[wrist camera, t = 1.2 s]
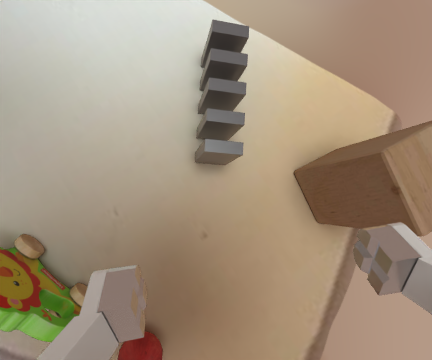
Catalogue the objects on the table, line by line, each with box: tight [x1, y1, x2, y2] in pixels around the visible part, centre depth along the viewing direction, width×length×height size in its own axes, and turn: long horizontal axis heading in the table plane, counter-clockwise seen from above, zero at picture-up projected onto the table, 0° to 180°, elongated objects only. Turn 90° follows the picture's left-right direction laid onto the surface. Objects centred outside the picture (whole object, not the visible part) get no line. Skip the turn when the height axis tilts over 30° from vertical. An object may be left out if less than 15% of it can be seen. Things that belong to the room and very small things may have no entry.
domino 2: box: [200, 48, 248, 91], centre depth 41 cm, size 2×5×10 cm, turn 86°
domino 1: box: [201, 20, 249, 68], centre depth 42 cm, size 2×5×10 cm, turn 87°
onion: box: [118, 332, 163, 360], centre depth 37 cm, size 6×6×8 cm
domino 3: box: [198, 77, 246, 114], centre depth 41 cm, size 2×5×10 cm, turn 86°
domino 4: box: [196, 108, 245, 141], centre depth 41 cm, size 2×5×10 cm, turn 87°
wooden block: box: [294, 121, 432, 236], centre depth 39 cm, size 10×10×20 cm
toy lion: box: [0, 234, 87, 342], centre depth 32 cm, size 16×5×15 cm, turn 46°
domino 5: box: [195, 139, 243, 165], centre depth 40 cm, size 2×5×10 cm, turn 86°
